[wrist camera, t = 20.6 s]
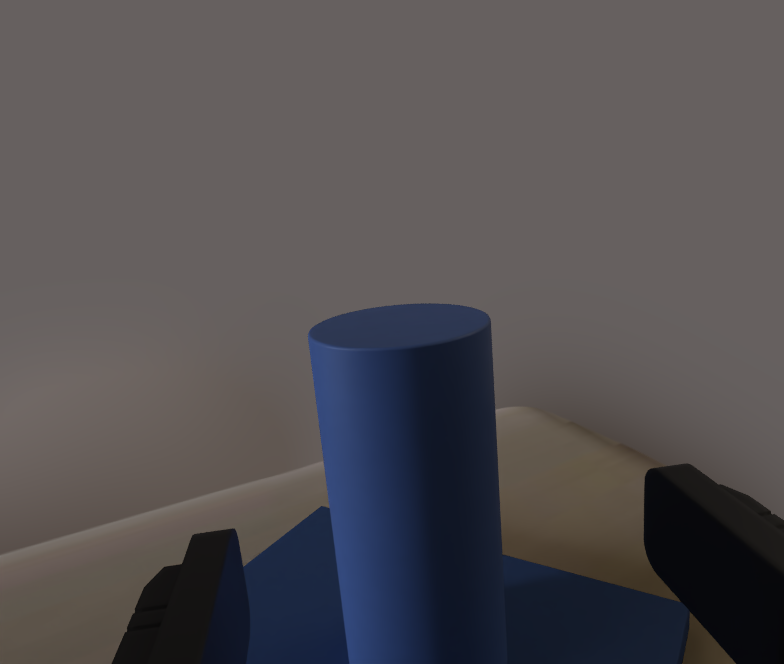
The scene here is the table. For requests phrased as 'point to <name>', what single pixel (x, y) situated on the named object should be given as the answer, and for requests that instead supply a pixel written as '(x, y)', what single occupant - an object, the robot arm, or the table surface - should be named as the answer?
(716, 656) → the table surface
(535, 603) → the blue mat
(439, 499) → the blue cylinder
